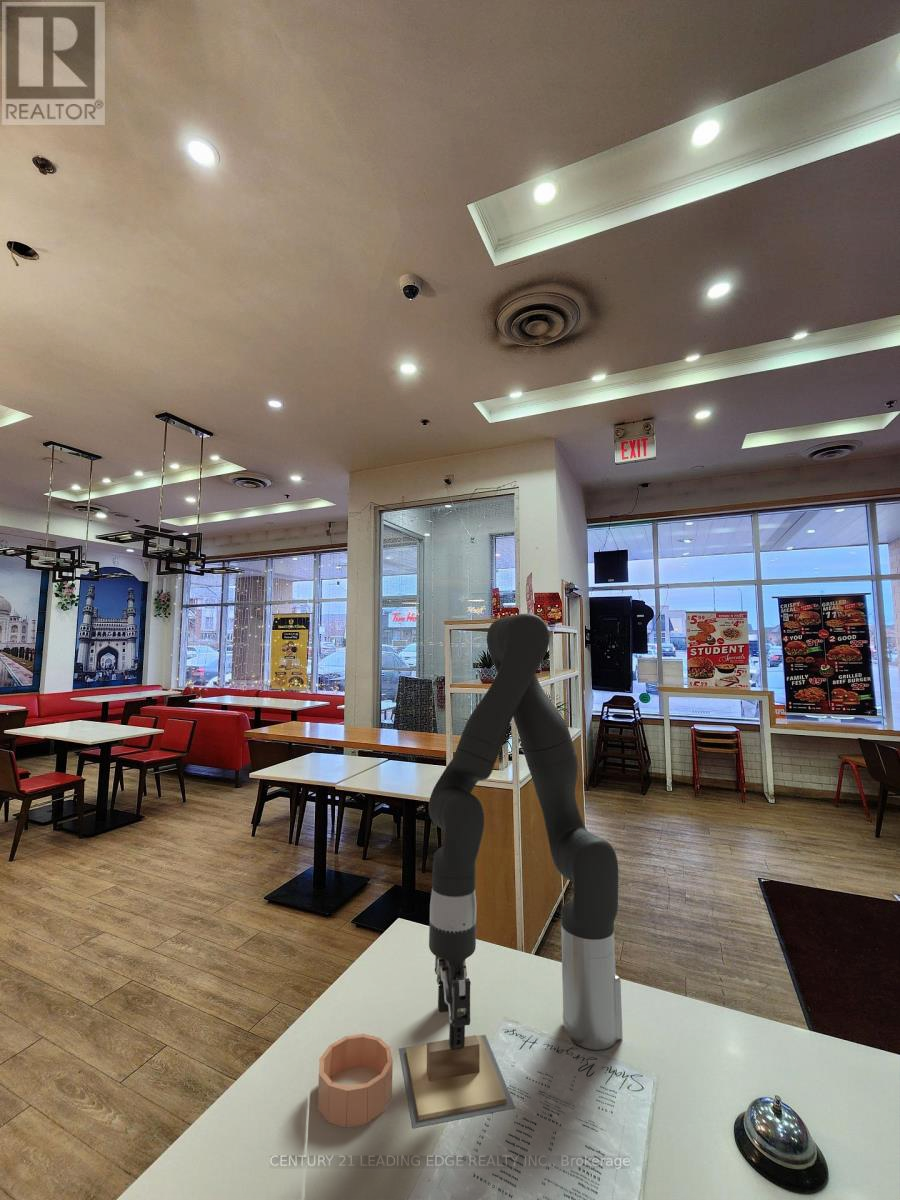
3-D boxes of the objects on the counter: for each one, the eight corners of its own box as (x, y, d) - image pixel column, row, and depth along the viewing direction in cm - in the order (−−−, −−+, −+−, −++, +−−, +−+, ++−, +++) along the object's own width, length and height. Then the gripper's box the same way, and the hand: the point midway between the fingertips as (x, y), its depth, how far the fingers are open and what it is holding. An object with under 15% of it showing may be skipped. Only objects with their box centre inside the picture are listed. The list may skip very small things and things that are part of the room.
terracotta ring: (387, 1063, 82) (387, 1029, 83) (395, 1121, 72) (395, 1082, 72) (318, 1075, 80) (320, 1040, 80) (316, 1136, 69) (318, 1095, 70)
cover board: (481, 1039, 87) (481, 1010, 87) (506, 1103, 74) (506, 1068, 75) (405, 1052, 84) (406, 1021, 84) (418, 1120, 71) (419, 1083, 72)
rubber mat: (485, 1037, 88) (485, 1034, 88) (515, 1111, 73) (515, 1107, 73) (398, 1051, 85) (398, 1048, 85) (412, 1132, 70) (412, 1128, 70)
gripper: (488, 938, 76) (486, 1058, 74) (464, 896, 90) (462, 997, 88) (438, 942, 74) (435, 1066, 72) (422, 899, 88) (419, 1002, 86)
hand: (450, 1028), depth 80 cm, fingers open, 8 cm apart
